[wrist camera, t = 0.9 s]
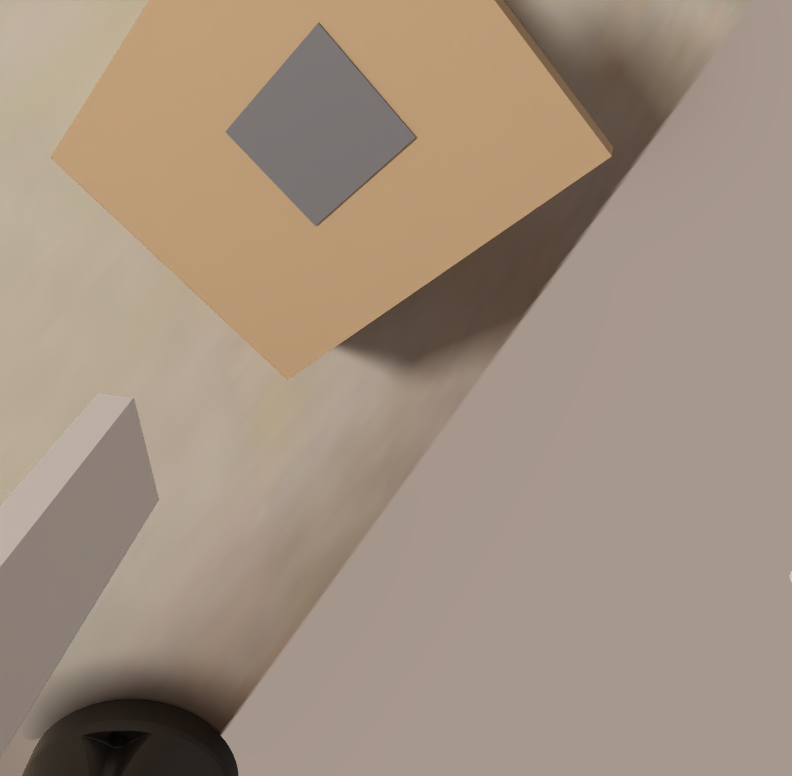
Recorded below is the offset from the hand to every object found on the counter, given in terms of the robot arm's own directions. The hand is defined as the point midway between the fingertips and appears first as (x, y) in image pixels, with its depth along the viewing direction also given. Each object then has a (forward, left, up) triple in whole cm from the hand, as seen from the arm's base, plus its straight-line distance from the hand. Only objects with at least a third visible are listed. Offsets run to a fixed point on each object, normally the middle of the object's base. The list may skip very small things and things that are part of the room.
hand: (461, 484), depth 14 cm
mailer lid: (+1, +7, -18) cm, 19 cm away
